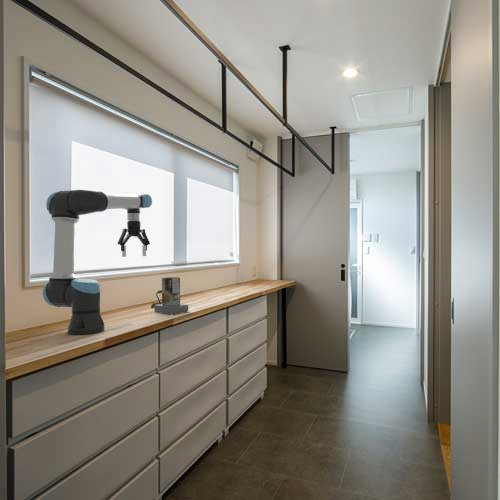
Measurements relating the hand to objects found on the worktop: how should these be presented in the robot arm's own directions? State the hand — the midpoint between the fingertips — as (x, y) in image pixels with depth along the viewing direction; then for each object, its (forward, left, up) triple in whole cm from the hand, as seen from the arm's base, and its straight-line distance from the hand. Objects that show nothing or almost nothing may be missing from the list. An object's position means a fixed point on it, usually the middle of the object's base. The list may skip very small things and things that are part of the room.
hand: (134, 256), depth 219 cm
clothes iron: (+22, +2, -33) cm, 40 cm away
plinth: (+12, -19, -33) cm, 40 cm away
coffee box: (+12, -19, -29) cm, 37 cm away
